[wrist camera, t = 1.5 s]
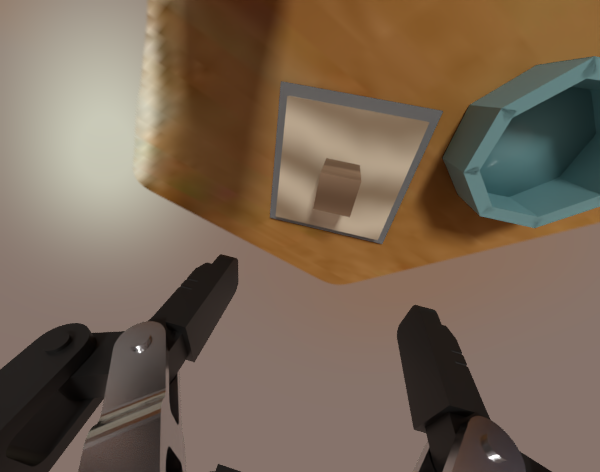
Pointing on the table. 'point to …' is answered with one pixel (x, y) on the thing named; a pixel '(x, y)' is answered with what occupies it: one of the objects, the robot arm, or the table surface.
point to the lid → (343, 165)
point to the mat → (360, 103)
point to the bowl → (532, 146)
